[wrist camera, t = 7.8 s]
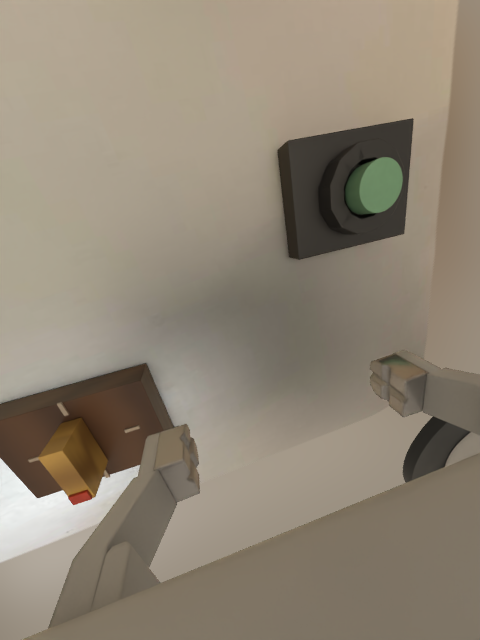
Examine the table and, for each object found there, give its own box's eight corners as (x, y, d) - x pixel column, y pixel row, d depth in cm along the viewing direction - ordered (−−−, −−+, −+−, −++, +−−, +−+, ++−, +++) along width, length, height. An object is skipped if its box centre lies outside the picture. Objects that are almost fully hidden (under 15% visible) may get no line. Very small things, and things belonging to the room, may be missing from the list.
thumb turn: (60, 423, 21) (35, 461, 17) (81, 417, 21) (60, 453, 17) (89, 466, 23) (72, 507, 20) (108, 460, 23) (94, 500, 20)
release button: (385, 159, 18) (405, 152, 16) (383, 209, 19) (401, 207, 18) (344, 168, 17) (359, 161, 16) (344, 218, 19) (359, 217, 17)
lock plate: (145, 362, 23) (139, 380, 21) (175, 432, 27) (174, 455, 25) (-1, 403, 22) (-30, 428, 19) (53, 471, 26) (36, 501, 23)
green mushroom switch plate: (391, 129, 20) (435, 106, 17) (386, 233, 24) (421, 233, 20) (277, 150, 19) (298, 130, 16) (289, 257, 23) (308, 261, 19)
